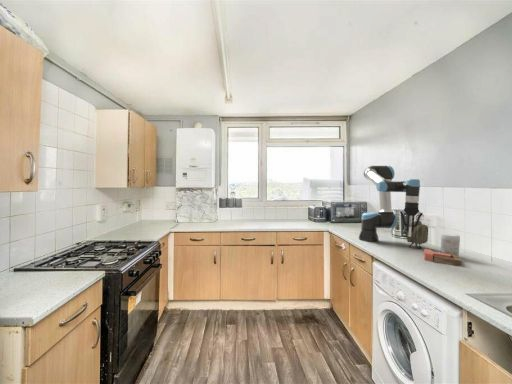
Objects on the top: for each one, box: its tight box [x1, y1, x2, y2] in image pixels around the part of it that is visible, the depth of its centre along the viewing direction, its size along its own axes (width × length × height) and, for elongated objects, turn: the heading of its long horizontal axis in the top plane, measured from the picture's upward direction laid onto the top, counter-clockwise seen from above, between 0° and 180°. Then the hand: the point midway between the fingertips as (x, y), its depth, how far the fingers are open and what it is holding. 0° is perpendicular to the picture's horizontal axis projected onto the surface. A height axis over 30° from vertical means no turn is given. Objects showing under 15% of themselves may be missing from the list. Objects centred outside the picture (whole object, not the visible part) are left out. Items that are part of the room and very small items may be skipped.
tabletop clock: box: [406, 214, 429, 249], centre depth 172 cm, size 14×9×25 cm, turn 124°
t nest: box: [432, 250, 463, 267], centre depth 144 cm, size 14×13×3 cm
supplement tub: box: [440, 232, 461, 257], centre depth 154 cm, size 10×10×15 cm
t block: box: [423, 248, 451, 262], centre depth 147 cm, size 13×13×4 cm
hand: (409, 236), depth 155 cm, fingers closed
